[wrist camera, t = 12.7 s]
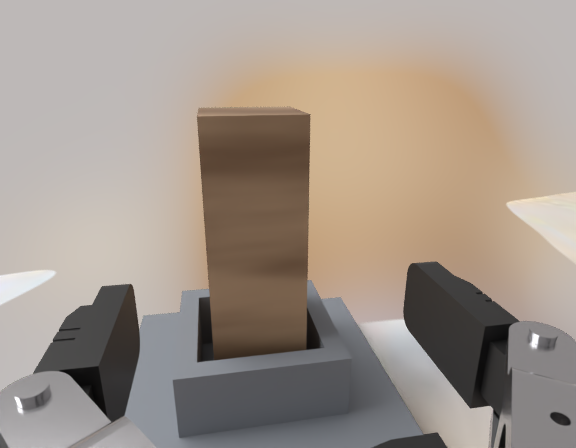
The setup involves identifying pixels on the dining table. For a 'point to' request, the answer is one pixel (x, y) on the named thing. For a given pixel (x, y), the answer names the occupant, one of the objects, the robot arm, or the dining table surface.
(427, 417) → the dining table surface
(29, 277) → the dining table surface
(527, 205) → the dining table surface
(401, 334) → the dining table surface
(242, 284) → the walnut block
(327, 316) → the slate stand
